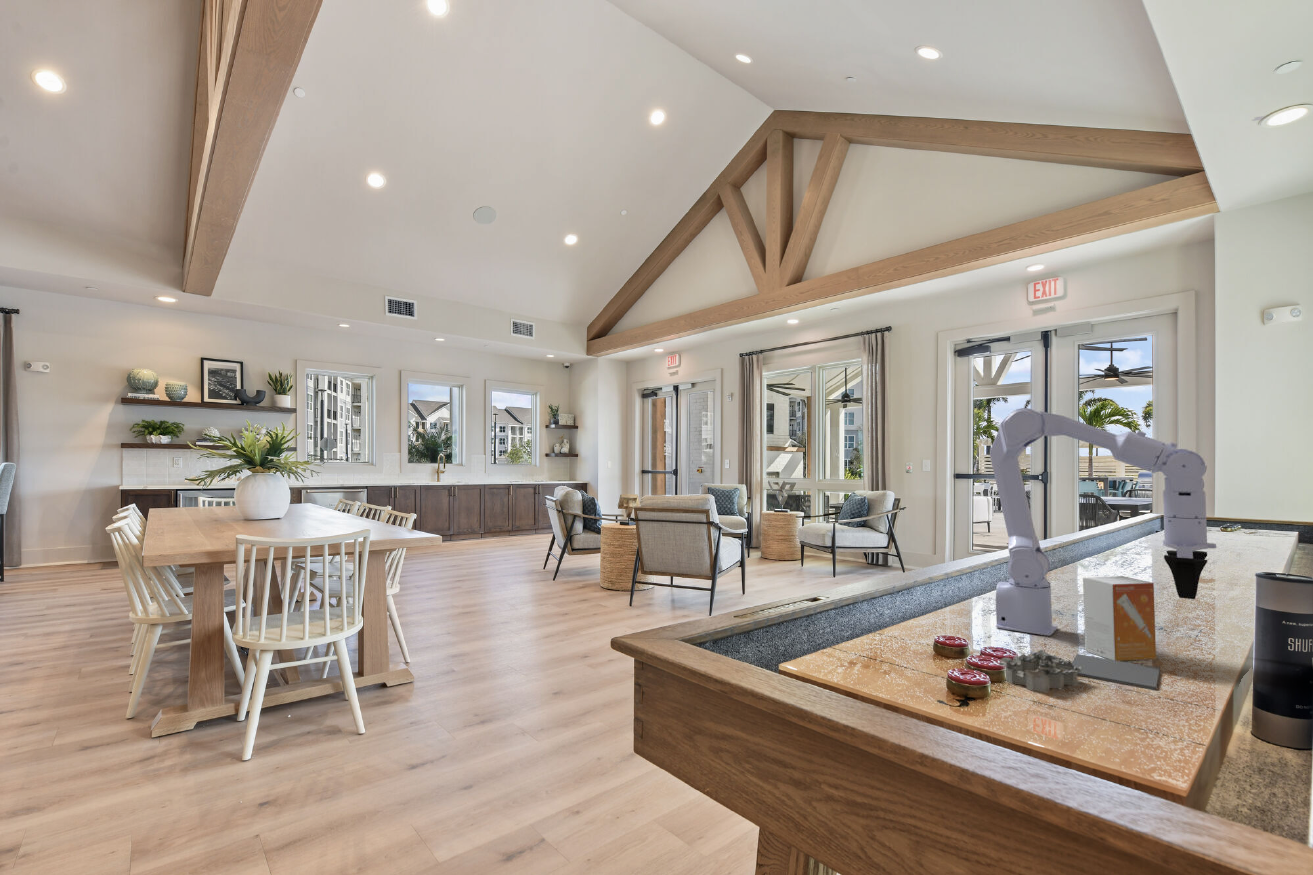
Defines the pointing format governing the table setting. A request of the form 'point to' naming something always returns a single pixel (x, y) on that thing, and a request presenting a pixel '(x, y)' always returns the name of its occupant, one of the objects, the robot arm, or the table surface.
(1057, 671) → the egg carton
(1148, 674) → the mat
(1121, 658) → the small box
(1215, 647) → the table surface
